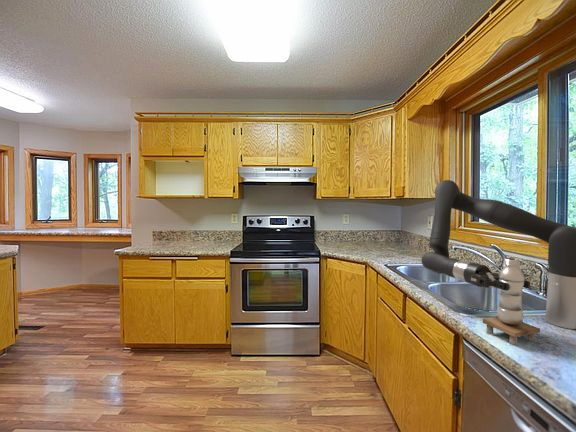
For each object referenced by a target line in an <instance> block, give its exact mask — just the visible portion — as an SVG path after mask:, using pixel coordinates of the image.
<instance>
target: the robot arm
mask: <svg viewBox="0 0 576 432" xmlns="http://www.w3.org/2000/svg"><path fill="white" fill-rule="evenodd" d="M434 188H435V189H434V198H435V199H434V200H435V202H434V203H435V204H434V213H433V221H432V227H431V231H430V236H429V242H428V244H429V247H430V248H431V249H432V250H433V252H427V253H425V254H423V255H422V257H421V264H422V265H421V266H423V267H424V268H425V269H426V270H429V271H432V272H434V273H436V274H439V275H441V274H444V275H445V276H448V277H450V278H453V279H457V280H459V281H461V282H463V283H466V284H470V285H473V286H477V287H480V288H481V287H483V288H489V287H490V288H492V289H494V288H495V289H498V290H500V289H502V290H505V291H508V290H509V284H508V283H505V282H502V281H499V273H500V272H497V271H491V269H490V268H489V266H488V265H485V264H481V263H478V262H472V261H469V260H461V259H457V258H453V257H450V251H449V243H450V237H451V222H452V220H451V219H452V210H453V209H454V210H457V211H460V212H462V213H463V212H464V213H466V214H468V215H470V216H473V217H475V218H477V219H480V220H481V221H484V222H487V223H488V224H490V225H494V226H496V227H499V228H501V229H504V230H506V231H507V230H508V231H511V232H515V233H518V234H523V235H527V236H530V237H534V238H536V239H539V240H540V241H543V242H545V243H546V244H548V248H547V249H548V251H547V265H548V274H547V291H546V293H547V294H546V307H545V321H546V322H548V323H549V324H552V325H553V326H556V327H560V328H564V329H569V330H576V226H572V225H568V224H563V223H561V222H557V221H556V222H555V221H553V220H549V219H546V218H544V217H540V216H538V215H536V214H534V213H531V212H529V211H527V210H525V209H522V208H520V207H517V206H515V205H513V204H509V203H507V202H503V201H500V200H497V199H492V198H491V199H489V198H487V199H486V198H476V197H474V196H471V195H468V194H466V193H463V192H461V191H460V188H459V185H458V184H457V183H456V182H455V181H453V180H449V179H444V180H442V181H440V182H438V183H437V185H436V187H434ZM523 289H531V282H530V280H526V279H525V281H524V286H523Z"/></svg>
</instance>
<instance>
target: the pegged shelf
mask: <svg viewBox="0 0 576 432" xmlns="http://www.w3.org/2000/svg"><path fill="white" fill-rule="evenodd" d="M482 323H483V324H485V325H486V334H487V335H494V329H496V330H498V331H499V332H503V333H505V334H507V335H509V343H508V344H509V345H511V346H514V347H516V346H518V337H523V336H524V337H525V336H526V341H527V342H530V343H536V334H539V333H541V328H540V327H537V326H533V325H532V324H529V323H527V322H524V321H523V322H522V323H521V324H520V325H511V324H507V323H504V322H502V321H500V320H499V318H498V316H496V317H495V316H494V317H488V318H483V319H482Z"/></svg>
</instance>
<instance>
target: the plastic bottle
mask: <svg viewBox="0 0 576 432" xmlns="http://www.w3.org/2000/svg"><path fill="white" fill-rule="evenodd" d="M503 265H504V267H502V269H501V270H500V271H499V272H498V273H499V281H502V282H505V283H508V284H509V290H508V291H505V290H502V289H499V292H500V294H499V302H498V304H499V305H498V307H497V312H496V315H497V317H498V318H499V320H500V321H502V322H504V323H507V324H511V325H520V324H521V323H522V322H524V312H523V311H524V310H523V302H522V298H523V290H524V287H523V286H524V281H525V280H526V278H525V274H524V273H523V271H522V270H521V269H520V265H521V264H520V259H518V258H513V257H505V258H504V262H503Z"/></svg>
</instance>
